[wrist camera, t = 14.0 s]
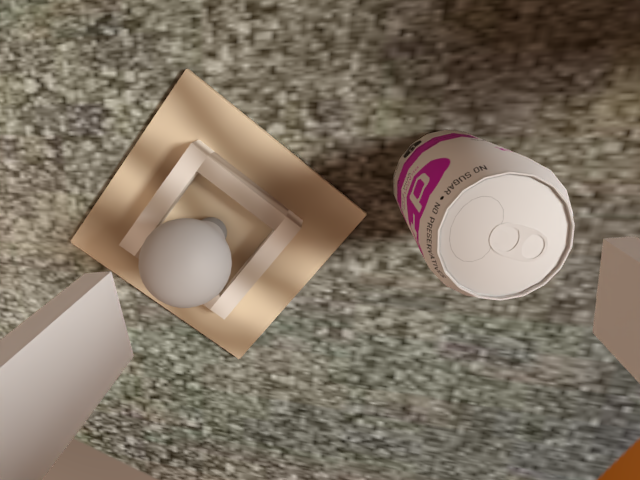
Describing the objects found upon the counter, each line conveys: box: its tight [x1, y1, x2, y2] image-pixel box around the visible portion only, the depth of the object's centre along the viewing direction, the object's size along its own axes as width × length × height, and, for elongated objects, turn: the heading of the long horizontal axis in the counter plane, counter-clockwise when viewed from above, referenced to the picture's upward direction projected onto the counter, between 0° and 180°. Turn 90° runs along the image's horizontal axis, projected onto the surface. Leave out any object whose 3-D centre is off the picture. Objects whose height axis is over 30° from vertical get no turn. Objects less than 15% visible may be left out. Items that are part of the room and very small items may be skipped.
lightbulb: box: [138, 217, 232, 308], centre depth 35 cm, size 6×6×11 cm
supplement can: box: [393, 130, 575, 300], centre depth 32 cm, size 8×8×15 cm
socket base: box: [70, 69, 367, 359], centre depth 39 cm, size 18×18×3 cm
